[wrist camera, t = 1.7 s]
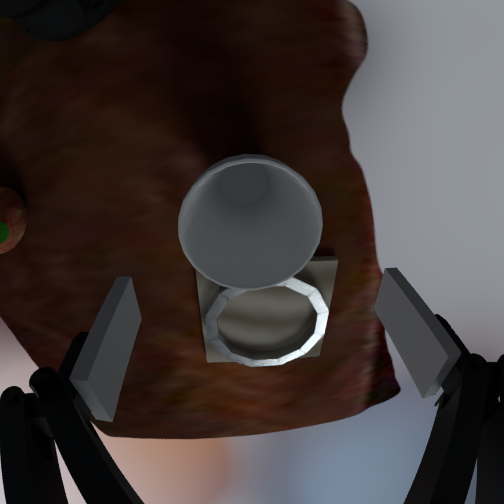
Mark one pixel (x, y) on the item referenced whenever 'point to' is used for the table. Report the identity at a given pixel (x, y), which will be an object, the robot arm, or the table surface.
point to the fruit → (11, 218)
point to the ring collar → (275, 356)
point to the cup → (250, 222)
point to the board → (268, 312)
